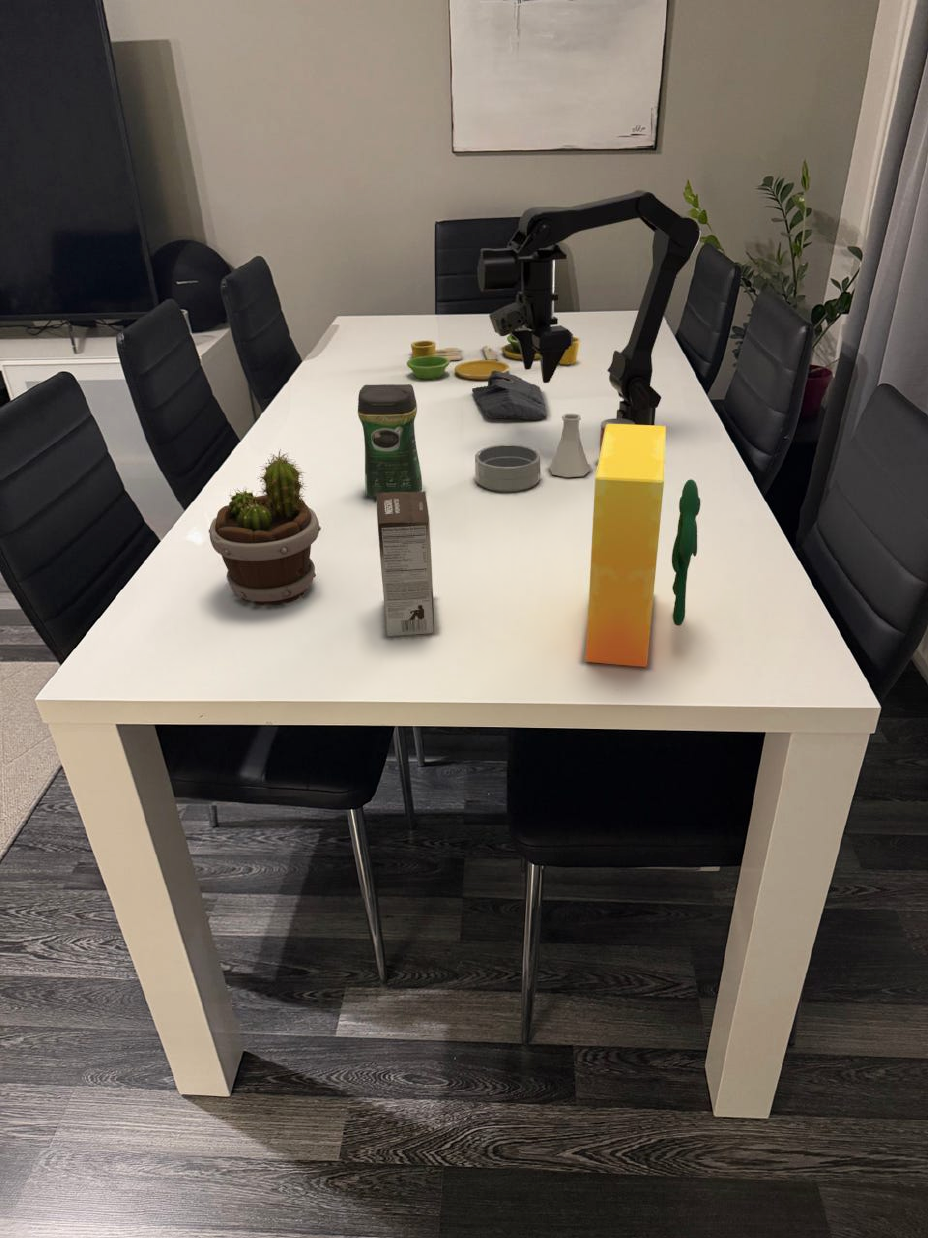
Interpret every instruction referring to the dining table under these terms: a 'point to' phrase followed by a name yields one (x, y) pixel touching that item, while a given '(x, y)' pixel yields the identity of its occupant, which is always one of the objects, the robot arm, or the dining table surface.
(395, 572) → the coffee box
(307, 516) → the flowerpot
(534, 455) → the bowl
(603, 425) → the tin can
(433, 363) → the tableware set
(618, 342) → the dining table surface
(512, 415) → the dark grey cloth
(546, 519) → the dining table surface
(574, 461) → the flask
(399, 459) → the coffee jar
